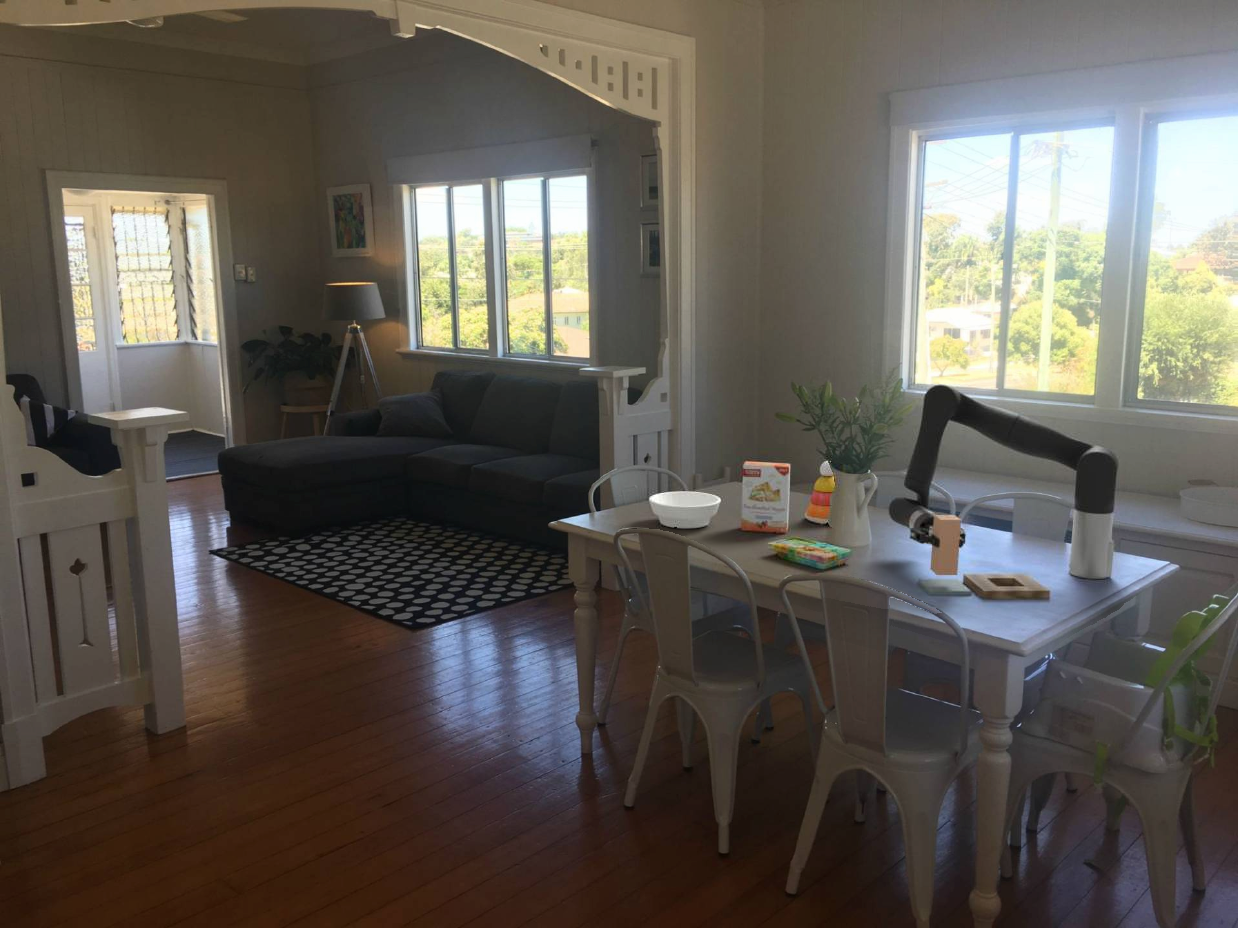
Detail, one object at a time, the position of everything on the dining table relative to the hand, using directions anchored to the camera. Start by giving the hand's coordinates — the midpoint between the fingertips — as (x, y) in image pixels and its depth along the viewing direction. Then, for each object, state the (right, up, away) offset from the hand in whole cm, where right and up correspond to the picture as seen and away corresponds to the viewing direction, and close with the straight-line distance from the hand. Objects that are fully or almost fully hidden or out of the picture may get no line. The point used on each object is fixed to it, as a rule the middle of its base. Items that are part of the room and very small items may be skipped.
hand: (949, 543), depth 245 cm
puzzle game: (-29, -7, +31) cm, 43 cm away
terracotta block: (0, -7, +4) cm, 8 cm away
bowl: (-60, 0, +71) cm, 93 cm away
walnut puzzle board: (+15, -12, +4) cm, 20 cm away
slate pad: (0, -12, +5) cm, 13 cm away
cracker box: (-36, -1, +63) cm, 73 cm away
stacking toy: (-14, +1, +75) cm, 77 cm away
